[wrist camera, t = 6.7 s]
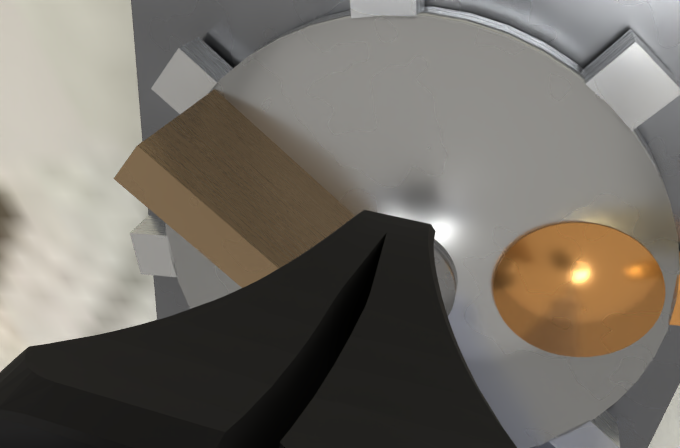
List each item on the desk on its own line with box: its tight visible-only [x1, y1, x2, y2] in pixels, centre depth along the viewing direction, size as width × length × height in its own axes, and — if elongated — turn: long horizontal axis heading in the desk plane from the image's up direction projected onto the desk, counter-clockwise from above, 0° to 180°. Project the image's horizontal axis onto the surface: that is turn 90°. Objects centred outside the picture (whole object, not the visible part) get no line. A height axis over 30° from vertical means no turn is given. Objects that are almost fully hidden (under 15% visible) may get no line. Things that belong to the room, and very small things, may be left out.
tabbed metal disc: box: [114, 0, 680, 448], centre depth 18 cm, size 18×18×5 cm
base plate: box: [131, 0, 680, 448], centre depth 21 cm, size 18×18×1 cm
